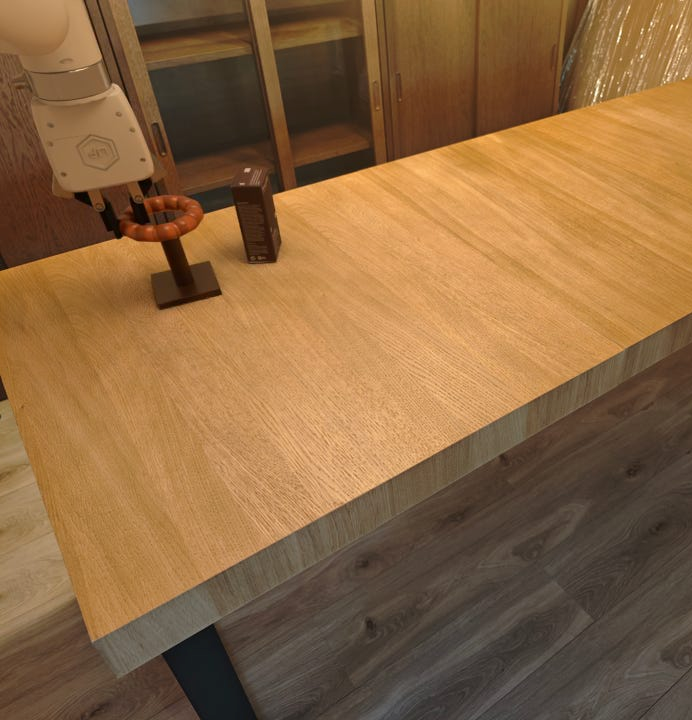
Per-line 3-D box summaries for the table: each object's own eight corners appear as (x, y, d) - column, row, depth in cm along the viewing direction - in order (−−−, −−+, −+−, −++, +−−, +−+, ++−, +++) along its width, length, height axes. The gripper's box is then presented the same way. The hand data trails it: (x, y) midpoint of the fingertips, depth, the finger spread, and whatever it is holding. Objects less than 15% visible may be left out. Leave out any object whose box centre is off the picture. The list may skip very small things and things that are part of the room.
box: (279, 262, 94) (261, 185, 86) (247, 263, 94) (226, 186, 86) (284, 241, 98) (268, 166, 90) (254, 242, 98) (235, 167, 90)
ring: (125, 252, 78) (119, 237, 76) (118, 216, 84) (112, 202, 83) (211, 233, 81) (207, 219, 80) (197, 200, 88) (193, 186, 86)
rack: (160, 310, 85) (136, 251, 79) (152, 280, 90) (129, 223, 84) (222, 294, 88) (203, 236, 82) (211, 266, 93) (193, 209, 87)
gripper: (-17, 103, 64) (61, 261, 76) (154, 79, 69) (202, 230, 82) (-14, 81, 69) (59, 233, 81) (146, 60, 74) (192, 205, 87)
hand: (131, 230), depth 81 cm, fingers closed on ring, 2 cm apart
